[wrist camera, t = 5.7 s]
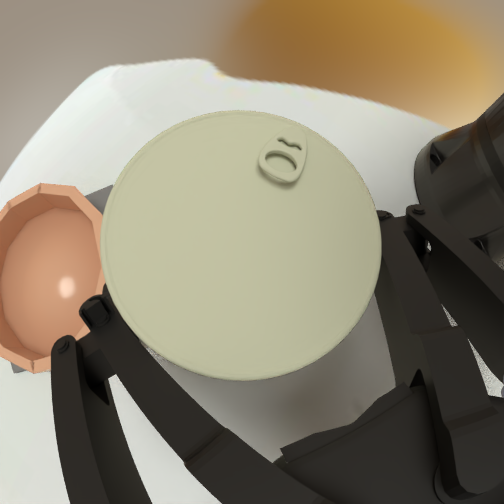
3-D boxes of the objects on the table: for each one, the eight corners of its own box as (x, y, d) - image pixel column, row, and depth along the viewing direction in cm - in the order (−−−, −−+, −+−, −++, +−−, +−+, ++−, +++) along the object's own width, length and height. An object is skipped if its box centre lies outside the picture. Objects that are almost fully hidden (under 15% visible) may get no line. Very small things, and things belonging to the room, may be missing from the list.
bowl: (107, 179, 21) (93, 157, 18) (150, 340, 18) (137, 342, 15) (-6, 236, 19) (-27, 224, 15) (18, 380, 16) (-6, 383, 13)
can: (320, 255, 21) (414, 174, 9) (265, 374, 18) (320, 434, 7) (207, 199, 21) (193, 72, 10) (144, 310, 19) (43, 281, 7)
